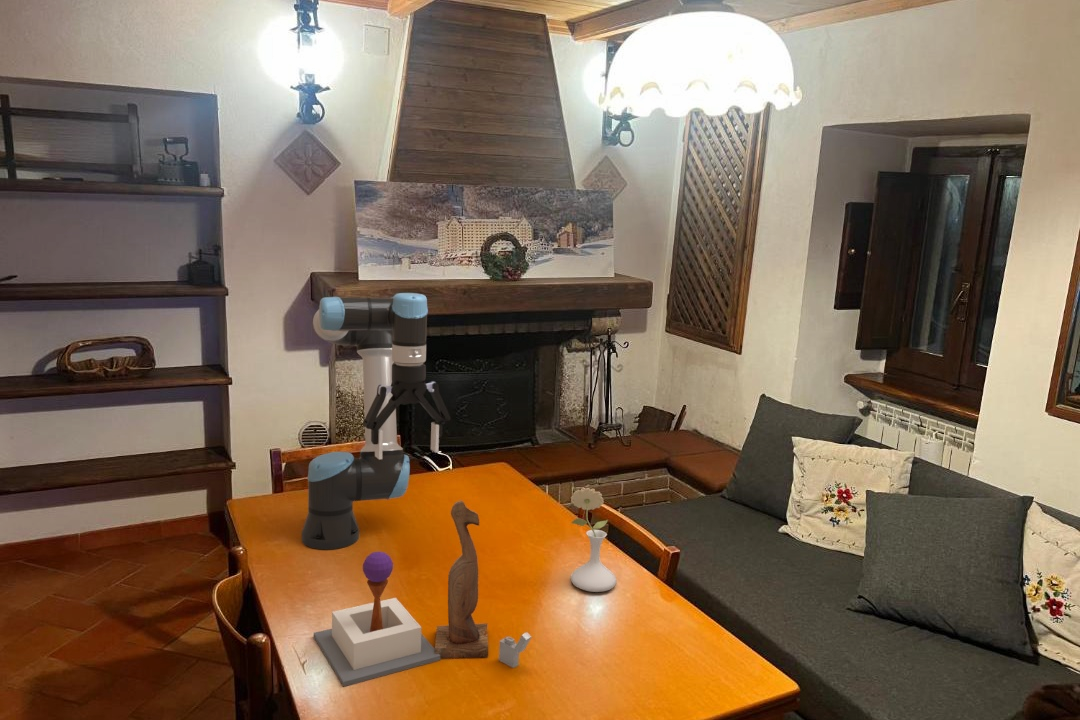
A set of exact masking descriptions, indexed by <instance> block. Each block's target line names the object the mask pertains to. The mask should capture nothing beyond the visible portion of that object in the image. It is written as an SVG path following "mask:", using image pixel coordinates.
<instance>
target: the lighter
mask: <svg viewBox="0 0 1080 720" xmlns="http://www.w3.org/2000/svg"><path fill="white" fill-rule="evenodd" d="M531 639H532V636H531V634H530V633H529V632H524V633H523V634H521V635H520V638H519V640H518V641H517V643H516V641H515V640H516V639H514V638H513V637H511V636H505V637H504V638H502V639H500V640H499V649H498V661H499V662H501V663H502V664H504V665H507V666H509V667H510V668H513V669H514V668H516V667H518V666H519V665H520V664H519V660H520V653H522V652H524V651H526V648H527V646H528V644H529V642H530V641H531Z"/></svg>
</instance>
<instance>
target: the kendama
mask: <svg viewBox="0 0 1080 720" xmlns="http://www.w3.org/2000/svg"><path fill="white" fill-rule="evenodd" d="M393 569H394V563H393V560H392V558H391V557H390V555H388V554H387V553H386V552H383V551H373V552H371V553H370V554H369V555H367V556H366V557H365V559H364V562H363V565H362V571H363V574H364V576H365V578H367V579H368V580H367V581H366V582H367V585H368V587H369V589H370V592H371V594H372V595H373V597H374V600H373V603H374V605H373V613H372V620H371V627H370V632H373V631H377V630H381V629H383V623H382V613H381V603H380V601H381V597H382V595H383V592H384V591H385V589H386V587H387V585H388V582H389V580H388V578H390V577H391V575H392V573H393Z"/></svg>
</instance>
